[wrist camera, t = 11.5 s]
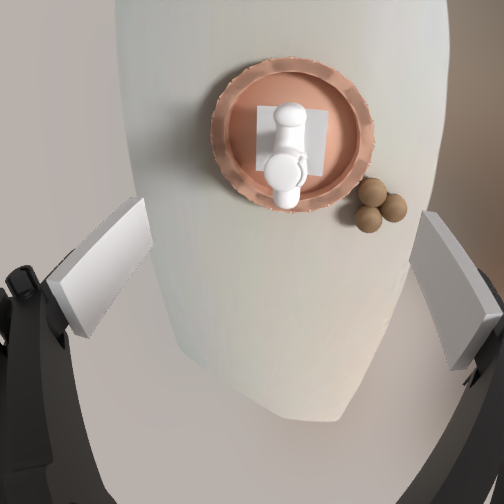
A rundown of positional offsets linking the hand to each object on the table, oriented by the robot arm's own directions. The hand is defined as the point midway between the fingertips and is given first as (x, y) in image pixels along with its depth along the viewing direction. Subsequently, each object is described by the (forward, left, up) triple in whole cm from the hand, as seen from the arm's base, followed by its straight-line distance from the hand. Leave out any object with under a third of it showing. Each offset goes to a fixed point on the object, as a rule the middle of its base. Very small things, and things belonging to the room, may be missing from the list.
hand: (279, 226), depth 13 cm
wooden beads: (+8, +11, -24) cm, 27 cm away
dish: (0, 0, -24) cm, 24 cm away
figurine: (0, 0, -23) cm, 23 cm away
